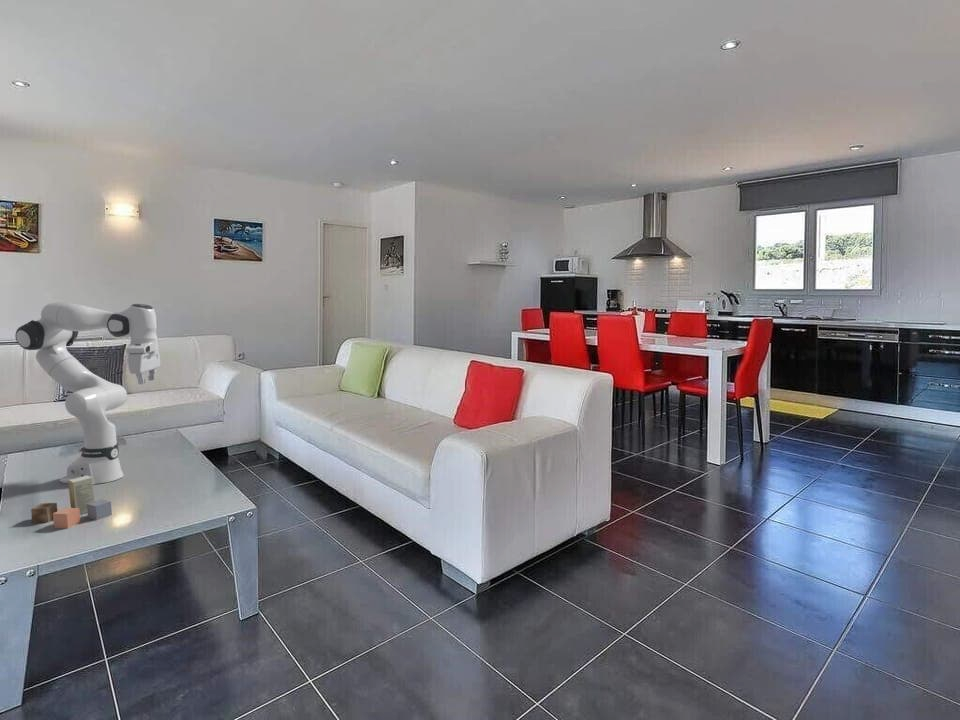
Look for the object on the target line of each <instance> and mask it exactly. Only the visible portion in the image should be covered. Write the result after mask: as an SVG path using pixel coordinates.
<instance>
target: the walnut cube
mask: <svg viewBox="0 0 960 720" xmlns="http://www.w3.org/2000/svg"><path fill="white" fill-rule="evenodd" d="M30 510H31V511H30V512H31V523H32V524H39V523H40V524H41V523H50V522H51V521H54V520H53V513H55V512H57V511H58V503H57V502H45V503H43V502H42V503H39V504H38V505H36V506H34V507H31V509H30Z"/></svg>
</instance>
